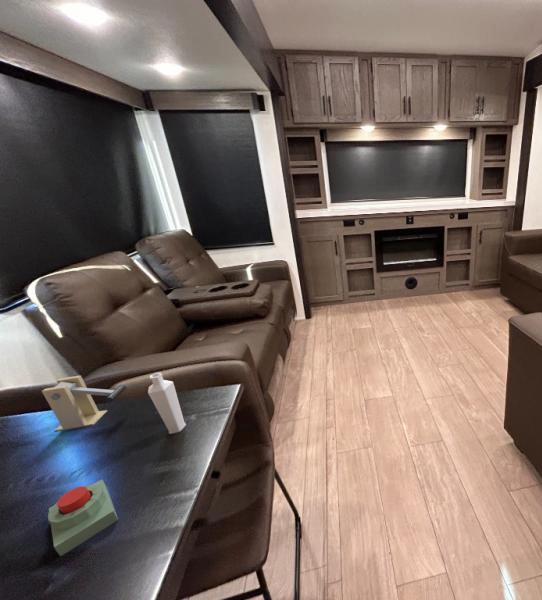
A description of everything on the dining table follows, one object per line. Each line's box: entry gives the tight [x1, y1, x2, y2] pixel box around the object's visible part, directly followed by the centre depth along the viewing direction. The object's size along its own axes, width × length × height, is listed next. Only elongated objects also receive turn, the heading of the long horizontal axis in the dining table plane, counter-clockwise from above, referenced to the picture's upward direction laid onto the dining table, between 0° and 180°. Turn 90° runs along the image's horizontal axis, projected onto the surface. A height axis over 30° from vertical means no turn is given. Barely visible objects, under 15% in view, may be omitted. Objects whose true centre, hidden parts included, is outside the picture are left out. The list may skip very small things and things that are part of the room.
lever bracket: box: [41, 375, 108, 432], centre depth 75 cm, size 8×6×12 cm
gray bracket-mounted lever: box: [54, 382, 127, 403], centre depth 75 cm, size 12×5×2 cm, turn 100°
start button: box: [56, 485, 91, 514], centre depth 52 cm, size 4×4×2 cm
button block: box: [47, 479, 119, 557], centre depth 53 cm, size 10×7×4 cm
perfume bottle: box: [147, 372, 187, 435], centre depth 69 cm, size 5×4×15 cm
